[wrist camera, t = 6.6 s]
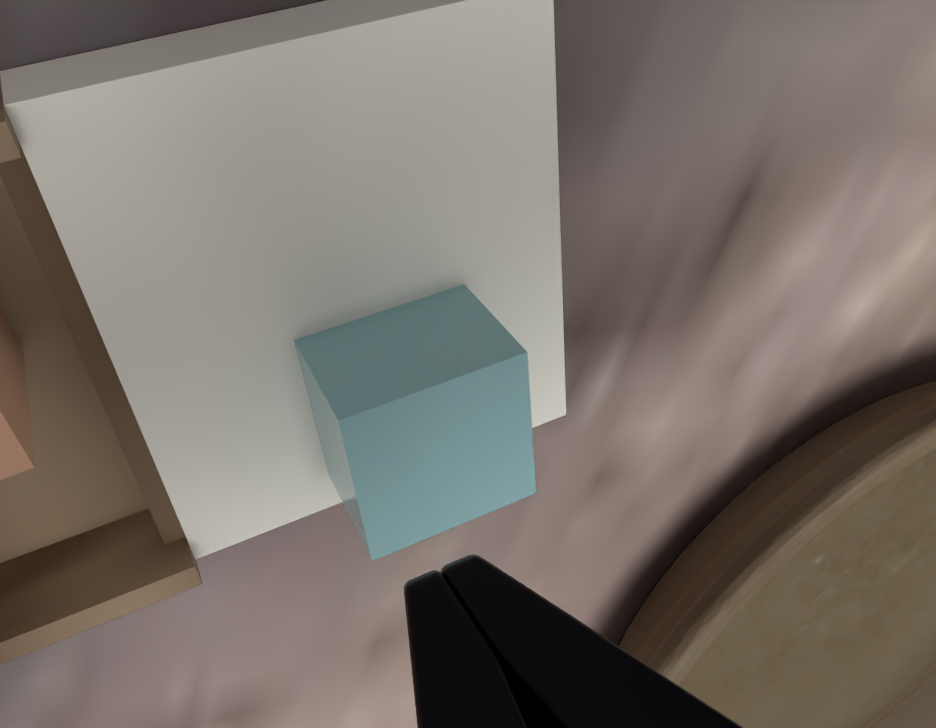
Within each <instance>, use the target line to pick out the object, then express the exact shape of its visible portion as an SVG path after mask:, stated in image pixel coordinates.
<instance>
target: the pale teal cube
mask: <svg viewBox="0 0 936 728" xmlns="http://www.w3.org/2000/svg"><path fill="white" fill-rule="evenodd" d="M294 343H295V347H296V351H297V355H298V359H299V363H300V366H301V370H302V374H303V378H304V382H305V386H306V389H307V393H308V397H309V401H310V405H311V409H312V413H313V416H314V420H315V424H316V428H317V432H318V436H319V439H320V443H321V447H322V451H323V455H324V459H325V462H326V466H327V470H328V474H329V477H330V479H331V481H332V483H333V485H334V487H335V489H336V491H337V493H338V495H339V497H340V499H341V501H342V503H343V505H344V507H345V509H346V511H347V513H348V515H349V517H350V519H351V521H352V523H353V525H354V527H355V529H356V531H357V533H358V535H359V537H360V539H361V541H362V543H363V545H364V547H365V549H366V551H367V553H368V555H369V557H370V559H371V561H374V560H376V559H379V558H381V557H383V556H386V555H388V554H391V553H393V552H396V551H398V550H400V549H403V548H405V547H408V546H410V545H412V544H415V543H417V542H420V541H422V540H424V539H427V538H429V537H432V536H434V535H436V534H439V533H441V532H444V531H446V530H448V529H451V528H453V527H456V526H458V525H460V524H463V523H465V522H468V521H470V520H472V519H475V518H477V517H480V516H482V515H485V514H487V513H489V512H492V511H494V510H497V509H499V508H501V507H504V506H506V505H509V504H511V503H513V502H516V501H518V500H521V499H523V498H525V497H528V496H530V495H533V494H535V493H536V481H535V465H534V449H533V433H532V416H531V400H530V384H529V368H528V352H527V351H526V350H525V349H524V348H523V347H522V346H521V345H520V344H519V342H518V341H517V340H516V339H515V338H514V337H513V336H512V335H511V334H510V333H509V332H508V331H507V330H506V328H505V327H504V326H503V325H502V324H501V323H500V322H499V321H498V320H497V319H496V318H495V317H494V316H493V314H492V313H491V312H490V311H489V310H488V309H487V308H486V307H485V306H484V305H483V304H482V303H481V302H480V300H479V299H478V298H477V297H476V296H475V295H474V294H473V293H472V292H471V291H470V290H469V289H468V288H467V286H466V285H465V284H463V285H460V286H457V287H454V288H451V289H448V290H445V291H442V292H439V293H436V294H433V295H430V296H427V297H424V298H421V299H418V300H415V301H412V302H408V303H405V304H402V305H399V306H396V307H393V308H390V309H387V310H384V311H381V312H378V313H375V314H372V315H369V316H366V317H363V318H360V319H357V320H354V321H351V322H348V323H345V324H342V325H339V326H336V327H333V328H330V329H327V330H323V331H320V332H317V333H314V334H311V335H308V336H305V337H302V338H299V339H296V340H294Z"/></svg>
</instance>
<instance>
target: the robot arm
mask: <svg viewBox="0 0 936 728" xmlns="http://www.w3.org/2000/svg"><path fill="white" fill-rule="evenodd" d="M404 596H405V606H406V616H407V626H408V636H409V646H410V656H411V666H412V676H413V686H414V696H415V706H416V716H417V725H418V728H743V727H742V726H740V725H739V724H737V723H736V722H734V721H733V720H731V719H729V718H728V717H726V716H725V715H723V714H722V713H720V712H719V711H717V710H716V709H714V708H712V707H711V706H709V705H708V704H706V703H705V702H703V701H702V700H700V699H699V698H697V697H696V696H694V695H692V694H691V693H689V692H688V691H686V690H685V689H683V688H682V687H680V686H679V685H677V684H676V683H674V682H672V681H671V680H669V679H668V678H666V677H665V676H663V675H662V674H660V673H659V672H657V671H656V670H654V669H652V668H651V667H649V666H648V665H646V664H645V663H643V662H642V661H640V660H639V659H637V658H636V657H634V656H632V655H631V654H629V653H628V652H626V651H625V650H623V649H622V648H620V647H619V646H617V645H616V644H614V643H612V642H611V641H609V640H608V639H606V638H605V637H603V636H602V635H600V634H599V633H597V632H595V631H594V630H592V629H591V628H589V627H588V626H586V625H585V624H583V623H582V622H580V621H579V620H577V619H575V618H574V617H572V616H571V615H569V614H568V613H566V612H565V611H563V610H562V609H560V608H559V607H557V606H555V605H554V604H552V603H551V602H549V601H548V600H546V599H545V598H543V597H542V596H540V595H539V594H537V593H535V592H534V591H532V590H531V589H529V588H528V587H526V586H525V585H523V584H522V583H520V582H519V581H517V580H515V579H514V578H512V577H511V576H509V575H508V574H506V573H505V572H503V571H502V570H500V569H498V568H497V567H495V566H494V565H492V564H491V563H489V562H488V561H486V560H485V559H483V558H481V557H480V556H477V555H468V556H466V557H463V558H461V559H459V560H456V561H454V562H452V563H449V564H447V565H445V566H444V567H443V568H442V569H441V573H440V572H439V571H436V570H435V571H430V572H428V573H426V574H423V575H421V576H419V577H416V578H414V579H412V580H409V581H408V582H406V583H405V586H404Z"/></svg>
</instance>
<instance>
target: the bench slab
mask: <svg viewBox="0 0 936 728" xmlns="http://www.w3.org/2000/svg"><path fill="white" fill-rule="evenodd" d="M0 76H1V85H2V94H3V104H4V107H5V110H6V112H7V114H8V117H9V119H10V121H11V124H12V126H13V129H14V131H15V133H16V136H17V138H18V140H19V143H20V145H21V147H22V150H23V152H24V155H25V157H26V159H27V162H28V164H29V166H30V169H31V171H32V174H33V176H34V178H35V181H36V183H37V185H38V188H39V190H40V192H41V195H42V197H43V200H44V202H45V204H46V207H47V209H48V211H49V214H50V216H51V219H52V221H53V223H54V226H55V228H56V230H57V233H58V235H59V237H60V240H61V242H62V245H63V247H64V249H65V252H66V254H67V256H68V259H69V261H70V264H71V266H72V268H73V271H74V273H75V275H76V278H77V280H78V282H79V285H80V287H81V290H82V292H83V294H84V297H85V299H86V301H87V304H88V306H89V309H90V311H91V313H92V316H93V318H94V320H95V323H96V325H97V327H98V330H99V332H100V335H101V337H102V339H103V342H104V344H105V346H106V349H107V351H108V354H109V356H110V358H111V361H112V363H113V365H114V368H115V370H116V372H117V375H118V377H119V380H120V382H121V384H122V387H123V389H124V391H125V394H126V396H127V399H128V401H129V403H130V406H131V408H132V410H133V413H134V415H135V417H136V420H137V422H138V425H139V427H140V429H141V432H142V434H143V436H144V439H145V441H146V444H147V446H148V448H149V451H150V453H151V455H152V458H153V460H154V462H155V465H156V467H157V470H158V472H159V474H160V477H161V479H162V481H163V484H164V486H165V489H166V491H167V493H168V496H169V498H170V500H171V503H172V505H173V507H174V510H175V512H176V515H177V517H178V519H179V522H180V524H181V526H182V529H183V531H184V534H185V536H186V538H187V541H188V543H189V545H190V548H191V550H192V552H193V555H194V557H195V560H196V559H198V558H201V557H203V556H206V555H208V554H211V553H213V552H216V551H219V550H221V549H224V548H226V547H229V546H231V545H234V544H236V543H239V542H242V541H244V540H247V539H249V538H252V537H254V536H257V535H259V534H262V533H265V532H267V531H270V530H272V529H275V528H277V527H280V526H282V525H285V524H288V523H290V522H293V521H295V520H298V519H300V518H303V517H305V516H308V515H311V514H313V513H316V512H318V511H321V510H323V509H326V508H329V507H331V506H334V505H336V504H339V503H341V502H342V501H341V499H340V497H339V495H338V493H337V491H336V489H335V487H334V485H333V483H332V481H331V479H330V477H329V474H328V470H327V466H326V462H325V459H324V455H323V451H322V447H321V443H320V439H319V436H318V432H317V428H316V424H315V420H314V416H313V413H312V409H311V405H310V401H309V397H308V393H307V389H306V386H305V382H304V378H303V374H302V370H301V366H300V363H299V359H298V355H297V351H296V347H295V343H294V340H296V339H299V338H302V337H305V336H308V335H311V334H314V333H317V332H320V331H323V330H327V329H330V328H333V327H336V326H339V325H342V324H345V323H348V322H351V321H354V320H357V319H360V318H363V317H366V316H369V315H372V314H375V313H378V312H381V311H384V310H387V309H390V308H393V307H396V306H399V305H402V304H405V303H408V302H412V301H415V300H418V299H421V298H424V297H427V296H430V295H433V294H436V293H439V292H442V291H445V290H448V289H451V288H454V287H457V286H460V285H463V284H465V285H466V286H467V288H468V289H469V290H470V291H471V292H472V293H473V294H474V295H475V296H476V297H477V298H478V299H479V300H480V302H481V303H482V304H483V305H484V306H485V307H486V308H487V309H488V310H489V311H490V312H491V313H492V314H493V316H494V317H495V318H496V319H497V320H498V321H499V322H500V323H501V324H502V325H503V326H504V327H505V328H506V330H507V331H508V332H509V333H510V334H511V335H512V336H513V337H514V338H515V339H516V340H517V341H518V342H519V344H520V345H521V346H522V347H523V348H524V349H525V350H526V351H527V352H528V368H529V384H530V400H531V416H532V428H533V427H536V426H538V425H541V424H543V423H546V422H548V421H551V420H554V419H556V418H559V417H561V416H564V415H566V393H565V360H564V328H563V295H562V262H561V230H560V197H559V164H558V132H557V99H556V66H555V34H554V1H553V0H326V1H322V2H317V3H312V4H308V5H303V6H298V7H294V8H289V9H285V10H280V11H275V12H271V13H266V14H261V15H257V16H252V17H248V18H243V19H238V20H234V21H229V22H224V23H220V24H215V25H210V26H206V27H201V28H197V29H192V30H187V31H183V32H178V33H173V34H169V35H164V36H160V37H155V38H150V39H146V40H141V41H136V42H132V43H127V44H123V45H118V46H113V47H109V48H104V49H99V50H95V51H90V52H86V53H81V54H76V55H72V56H67V57H62V58H58V59H53V60H48V61H44V62H39V63H35V64H30V65H25V66H21V67H16V68H11V69H7V70H2V71H0Z"/></svg>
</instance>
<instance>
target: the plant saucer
mask: <svg viewBox="0 0 936 728" xmlns="http://www.w3.org/2000/svg"><path fill="white" fill-rule="evenodd" d="M619 647H620V648H622V649H623V650H625V651H626V652H628V653H629V654H631V655H632V656H634V657H636V658H637V659H639V660H640V661H642V662H643V663H645V664H646V665H648V666H649V667H651V668H652V669H654V670H656V671H657V672H659V673H660V674H662V675H663V676H665V677H666V678H668V679H669V680H671V681H672V682H674V683H676V684H677V685H679V686H680V687H682V688H683V689H685V690H686V691H688V692H689V693H691V694H692V695H694V696H696V697H697V698H699V699H700V700H702V701H703V702H705V703H706V704H708V705H709V706H711V707H712V708H714V709H716V710H717V711H719V712H720V713H722V714H723V715H725V716H726V717H728V718H729V719H731V720H733V721H734V722H736V723H737V724H739V725H740V726H742V727H743V728H936V381H933V382H929V383H925V384H922V385H919V386H916V387H913V388H910V389H907V390H904V391H901V392H898V393H896V394H893V395H891V396H888V397H885V398H883V399H881V400H879V401H877V402H875V403H873V404H870V405H868V406H866V407H864V408H862V409H860V410H858V411H857V412H855V413H853V414H851V415H849V416H848V417H846V418H844V419H842V420H840V421H838V422H837V423H835V424H833V425H832V426H830V427H828V428H827V429H825V430H823V431H822V432H820V433H818V434H817V435H815V436H814V437H812V438H811V439H809V440H808V441H806V442H805V443H804V444H802V445H801V446H799V447H798V448H796V449H795V450H794V451H792V452H791V453H789V454H788V455H787V456H785V457H784V458H782V459H781V460H779V461H778V462H777V463H775V464H774V465H773V466H772V467H771V468H769V469H768V470H767V471H766V472H764V473H763V474H762V475H761V476H760V477H758V478H757V479H756V480H755V481H754V482H752V483H751V484H750V485H749V486H748V487H746V488H745V489H744V490H743V491H742V492H741V493H740V494H739V495H738V496H736V497H735V498H734V499H733V500H732V501H731V502H730V503H729V504H728V505H727V506H726V507H725V508H724V509H723V510H722V511H721V512H720V513H719V514H718V515H717V516H716V517H715V518H714V519H713V520H712V521H711V522H710V523H709V524H708V525H707V526H706V527H705V528H704V529H703V530H702V531H701V532H700V533H699V534H698V536H697V537H696V538H695V539H694V540H693V541H692V542H691V543H690V544H689V545H688V546H687V547H686V549H685V550H684V551H683V552H682V553H681V554H680V555H679V557H678V558H677V559H676V560H675V562H674V563H673V564H672V565H671V567H670V568H669V569H668V571H667V572H666V573H665V574H664V576H663V577H662V578H661V580H660V581H659V582H658V584H657V585H656V586H655V588H654V589H653V591H652V592H651V593H650V595H649V596H648V598H647V599H646V600H645V602H644V604H643V605H642V607H641V608H640V610H639V611H638V613H637V614H636V616H635V618H634V619H633V621H632V622H631V624H630V625H629V627H628V629H627V631H626V633H625V634H624V636H623V638H622V640H621V642H620V644H619Z"/></svg>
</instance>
